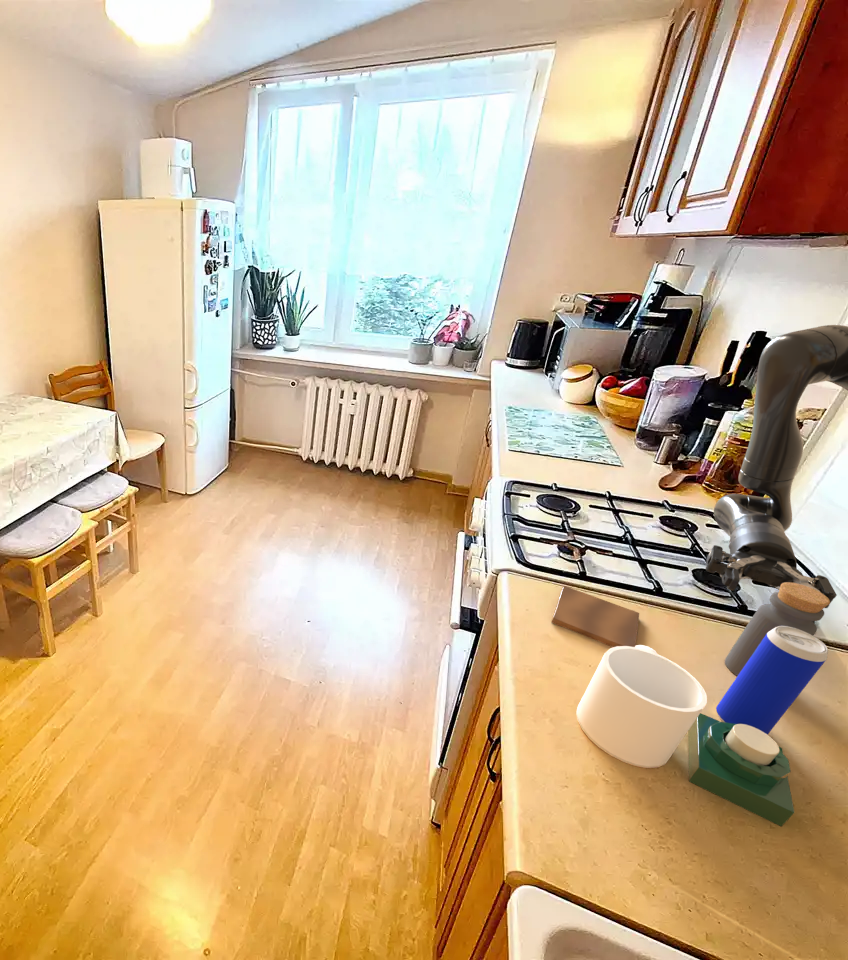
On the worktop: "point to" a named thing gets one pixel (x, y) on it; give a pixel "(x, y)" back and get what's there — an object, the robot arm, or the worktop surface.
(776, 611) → the bottle
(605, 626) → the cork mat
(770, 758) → the cream disc
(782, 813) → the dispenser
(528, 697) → the worktop surface
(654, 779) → the worktop surface
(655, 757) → the mug
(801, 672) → the beverage can
